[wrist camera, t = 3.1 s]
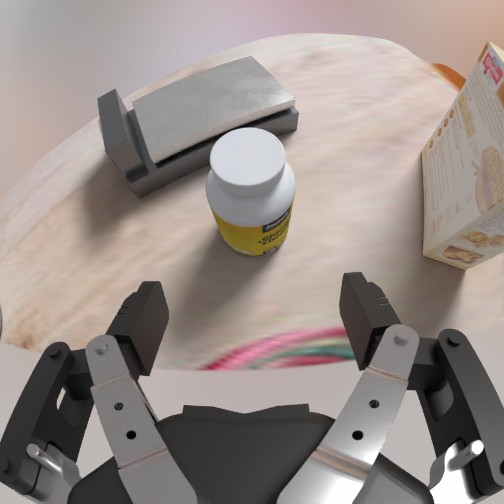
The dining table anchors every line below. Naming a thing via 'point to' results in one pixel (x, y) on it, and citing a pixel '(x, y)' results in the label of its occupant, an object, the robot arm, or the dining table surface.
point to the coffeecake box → (468, 171)
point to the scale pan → (208, 105)
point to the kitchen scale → (175, 166)
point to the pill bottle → (250, 191)
